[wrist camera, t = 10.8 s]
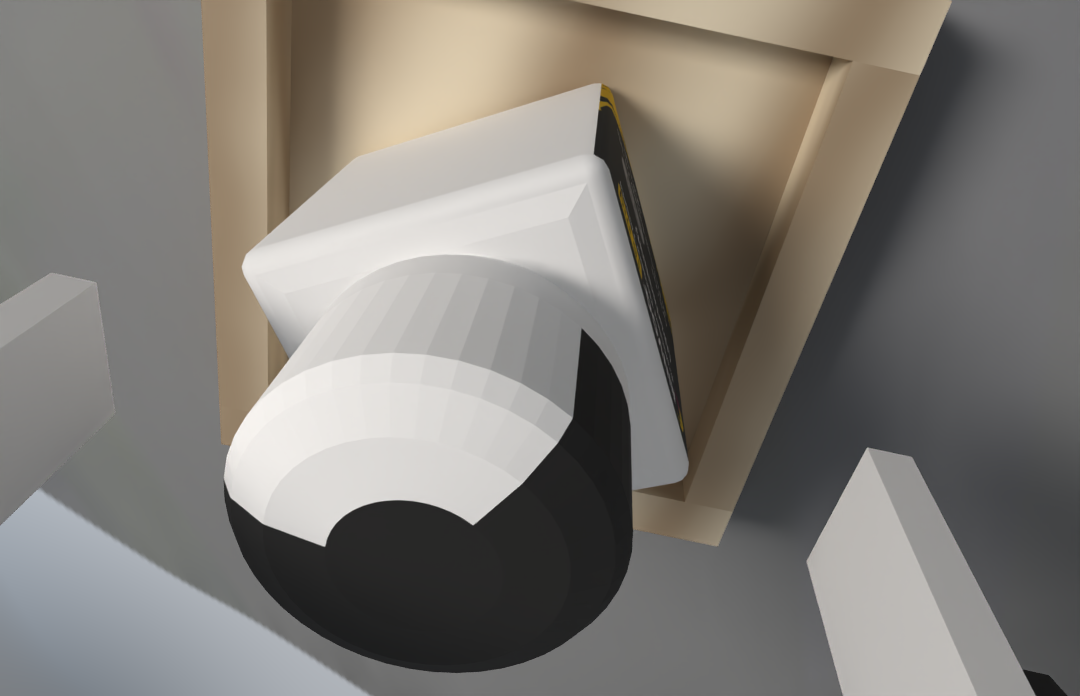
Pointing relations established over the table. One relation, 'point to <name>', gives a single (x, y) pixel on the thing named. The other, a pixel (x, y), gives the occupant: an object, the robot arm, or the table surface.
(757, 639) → the table surface
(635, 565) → the table surface
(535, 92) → the tray
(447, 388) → the medicine bottle
